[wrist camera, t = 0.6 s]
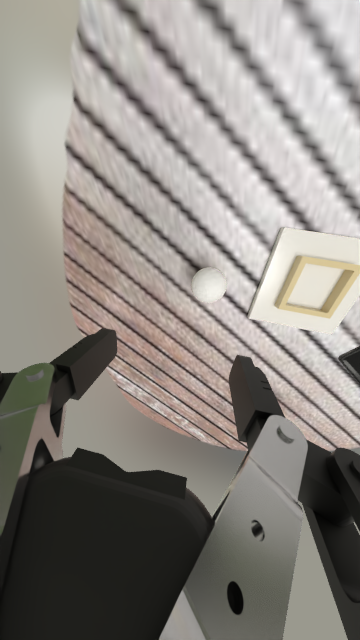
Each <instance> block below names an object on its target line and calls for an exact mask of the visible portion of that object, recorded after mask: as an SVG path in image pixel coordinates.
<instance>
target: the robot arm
mask: <svg viewBox="0 0 360 640" xmlns="http://www.w3.org/2000/svg"><path fill="white" fill-rule="evenodd" d="M116 353H117V339H116V331H115V330H111V329H106V328H102V329H101V330H99V331H98V332H97V333H95V334H92V335H89V336H87V337H85V338H83V339H82V340H80V341H79V342H78V343H76V344H75V345H74V346H73V347H71V348H69V349H68V350H67V351H65V352H64V353H63V354H61V355H60V356H59V357H57V358H56V359H54V360H53V361H52V362H50V363H39V364H35V365H31V366H29V367H27V368H25V369H23V370H21V371H20V372H18V373H1V371H0V640H282V639H283V633H284V627H285V621H286V615H287V610H288V603H289V597H290V592H291V586H292V579H293V574H294V567H295V562H296V556H297V550H298V544H299V538H300V532H301V526H302V519H303V512H302V508H301V507H300V505H299V504H298V502H297V500H299V501H300V502H301V503H302V505H303V507H304V510H305V513H306V516H307V519H308V522H309V525H310V528H311V531H312V534H313V537H314V540H315V543H316V546H317V549H318V552H319V555H320V558H321V561H322V563H323V567H324V570H325V573H326V576H327V579H328V582H329V585H330V588H331V591H332V593H333V597H334V599H335V602H336V605H337V608H338V611H339V614H340V617H341V620H342V623H343V626H344V629H345V632H346V635H347V638H348V640H360V535H359V533H358V531H357V529H356V527H355V525H354V523H353V522H355V523H356V525H357V527H358V529H359V531H360V455H358V454H357V453H355V452H353V451H351V450H348V449H345V448H337V449H336V450H335V451H334V452H333V453H331V452H329V451H327V450H325V449H323V448H321V447H319V446H317V445H316V444H314V443H312V442H310V441H308V440H306V438H305V436H304V435H303V433H302V432H301V431H300V429H299V428H298V427H297V426H296V425H295V424H294V423H292V422H291V421H290V420H288V419H286V418H285V416H284V414H283V412H282V410H281V408H280V406H279V403H278V401H277V399H276V397H275V395H274V393H273V391H272V388H271V386H270V384H269V382H268V380H267V378H266V375H265V374H264V373H263V372H262V371H261V370H260V369H259V368H258V367H254V364H253V362H252V359H251V358H250V357H245V356H240V355H237V356H236V358H235V361H234V363H233V366H232V369H231V372H230V375H229V386H230V391H231V397H232V403H233V409H234V415H235V421H236V427H237V433H238V439H239V441H243V442H247V446H248V451H247V453H246V455H245V456H244V458H243V460H242V462H241V464H240V466H239V468H238V470H237V472H236V474H235V475H234V477H233V479H232V481H231V483H230V485H229V487H228V488H227V490H226V492H225V494H224V495H223V497H222V499H221V500H220V502H219V504H218V506H217V508H216V510H215V511H214V513H213V515H212V517H211V515H210V514H209V512H208V511H207V509H206V508H205V506H204V505H203V503H202V502H201V501H200V500H199V499H198V497H197V496H196V495H194V494H193V493H192V492H191V491H190V490H189V489H187V488H186V481H187V478H186V477H182V476H179V475H175V474H171V473H168V472H164V471H161V470H153V471H140V472H126V471H124V470H122V469H121V468H120V467H119V466H117V465H116V464H115V463H113V462H112V461H111V460H109V459H108V458H107V457H105V456H104V455H102V454H99V453H95V452H91V451H87V450H84V449H80V448H77V449H76V451H75V452H74V454H73V455H72V457H68V458H63V450H62V437H63V429H64V421H65V413H66V402H67V401H68V400H69V399H70V398H71V399H76V400H79V399H80V398H81V396H82V395H83V394H84V393H85V392H86V391H87V390H88V388H89V387H90V386H91V385H92V384H93V382H94V381H95V380H96V379H97V378H98V376H99V375H100V374H101V373H102V372H103V371H104V370H105V368H106V367H107V366H108V365H109V364H110V362H111V361H112V360H113V359H114V358H115V356H116Z"/></svg>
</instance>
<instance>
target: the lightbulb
mask: <svg viewBox="0 0 360 640" xmlns="http://www.w3.org/2000/svg"><path fill="white" fill-rule="evenodd" d="M226 287H227V282H226V278H225V276H224V275H223V273H222V272H221V271H220V270H218V269H216V268H212V267H207V268H203V269H201V270H199V271H198V272H197V273H196V274H195V275H194V277H193V279H192V282H191V290H192V293H193V295H194V296H195V298H196V299H198V300H199V301H201V302H204V303H213V302H216V301H218V300H219V299H220V298H221V297H222V296H223V295H224V293H225V291H226Z"/></svg>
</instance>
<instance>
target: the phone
mask: <svg viewBox="0 0 360 640" xmlns="http://www.w3.org/2000/svg"><path fill="white" fill-rule="evenodd" d="M357 348H359V349H357ZM357 348H355V349H357V350H355V349H353V350H351V351H349V352H347V353H345V354H342V355H341V356H340V357H339V361H340V362H341V363H342V364H343V365H344V366H345V367H346V368H347V370H348V371H349V372H350V373H351V374H352V375H353V376H354V378H355V379H356V380H357V381H358V382H359V383H360V346H359V347H357Z"/></svg>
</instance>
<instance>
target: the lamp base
mask: <svg viewBox="0 0 360 640" xmlns="http://www.w3.org/2000/svg"><path fill="white" fill-rule="evenodd" d="M359 296H360V239H359V238H353V237H346V236H339V235H332V234H325V233H319V232H312V231H305V230H298V229H292V228H285V227H284V228H281V229H280V232H279V234H278V237H277V240H276V242H275V245H274V247H273V250H272V253H271V255H270V258H269V260H268V263H267V266H266V268H265V271H264V274H263V276H262V279H261V281H260V284H259V287H258V289H257V292H256V294H255V297H254V300H253V302H252V305H251V308H250V310H249V313H248V315H247V316H248V318H249V319H254V320H259V321H265V322H270V323H275V324H280V325H285V326H290V327H295V328H300V329H305V330H310V331H315V332H321V333H326V334H331V335H332V334H333V333H334V331H335V330H336V328H337V327H338V325H339V324H340V323H341V321H342V320H343V318H344V317H345V315H346V314H347V313H348V311H349V310H350V308H351V307H352V305H353V304H354V303H355V301H356V300H357V298H358V297H359Z"/></svg>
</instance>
